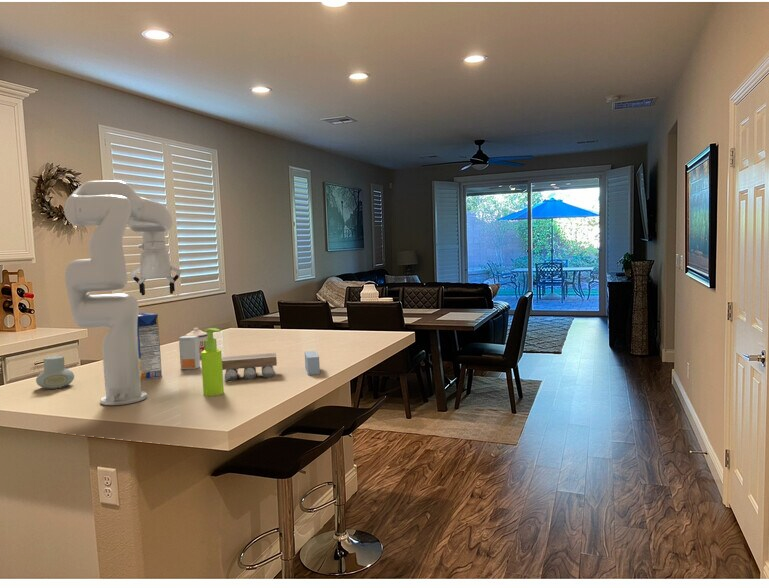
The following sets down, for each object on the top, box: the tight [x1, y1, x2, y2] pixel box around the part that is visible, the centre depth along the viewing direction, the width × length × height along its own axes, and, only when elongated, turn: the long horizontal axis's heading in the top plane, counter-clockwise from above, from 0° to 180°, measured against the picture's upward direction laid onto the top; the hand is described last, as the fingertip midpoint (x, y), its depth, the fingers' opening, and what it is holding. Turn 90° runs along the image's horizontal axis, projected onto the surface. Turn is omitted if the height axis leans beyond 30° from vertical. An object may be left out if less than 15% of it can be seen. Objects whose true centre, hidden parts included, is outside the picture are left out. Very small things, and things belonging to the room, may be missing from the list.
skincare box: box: [178, 335, 201, 370], centre depth 209 cm, size 6×4×12 cm
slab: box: [222, 352, 278, 371], centre depth 191 cm, size 8×18×3 cm, turn 103°
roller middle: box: [243, 367, 257, 381], centre depth 192 cm, size 11×4×4 cm, turn 13°
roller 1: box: [224, 369, 239, 382], centre depth 190 cm, size 11×4×4 cm, turn 13°
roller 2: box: [261, 366, 275, 379], centre depth 193 cm, size 11×4×4 cm, turn 13°
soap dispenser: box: [200, 327, 225, 397], centre depth 168 cm, size 6×7×20 cm
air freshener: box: [35, 355, 75, 390], centre depth 185 cm, size 11×8×10 cm
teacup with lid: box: [184, 327, 207, 358], centre depth 236 cm, size 12×9×12 cm
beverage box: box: [137, 312, 163, 380], centre depth 198 cm, size 7×11×22 cm, turn 42°
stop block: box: [304, 350, 321, 376], centre depth 196 cm, size 12×4×6 cm, turn 13°
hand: (157, 294), depth 203 cm, fingers open, 9 cm apart
